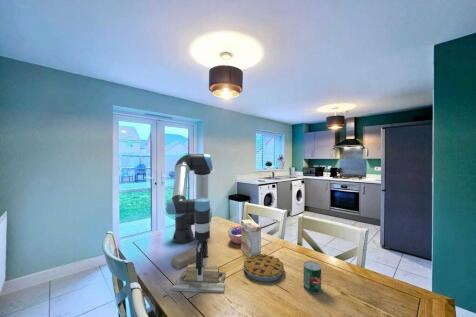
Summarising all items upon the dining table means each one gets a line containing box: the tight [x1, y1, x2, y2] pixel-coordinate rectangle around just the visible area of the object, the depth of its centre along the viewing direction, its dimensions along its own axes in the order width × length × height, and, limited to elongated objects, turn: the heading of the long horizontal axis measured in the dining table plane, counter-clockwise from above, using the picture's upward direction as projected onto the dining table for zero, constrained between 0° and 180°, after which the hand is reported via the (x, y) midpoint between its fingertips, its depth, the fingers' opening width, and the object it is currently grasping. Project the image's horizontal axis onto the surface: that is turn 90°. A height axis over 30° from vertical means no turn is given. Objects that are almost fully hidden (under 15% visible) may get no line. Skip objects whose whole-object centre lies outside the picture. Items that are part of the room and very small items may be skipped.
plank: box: [184, 264, 220, 283], centre depth 101 cm, size 5×16×6 cm, turn 86°
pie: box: [242, 253, 285, 283], centre depth 109 cm, size 22×22×5 cm
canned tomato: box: [303, 260, 322, 295], centre depth 94 cm, size 8×8×11 cm
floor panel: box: [171, 270, 226, 294], centre depth 99 cm, size 14×24×1 cm, turn 86°
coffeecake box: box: [240, 219, 262, 258], centre depth 128 cm, size 15×7×20 cm, turn 23°
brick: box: [171, 247, 197, 270], centre depth 119 cm, size 17×8×5 cm, turn 139°
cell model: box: [226, 225, 241, 245], centre depth 146 cm, size 17×20×11 cm
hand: (202, 275), depth 101 cm, fingers open, 7 cm apart
